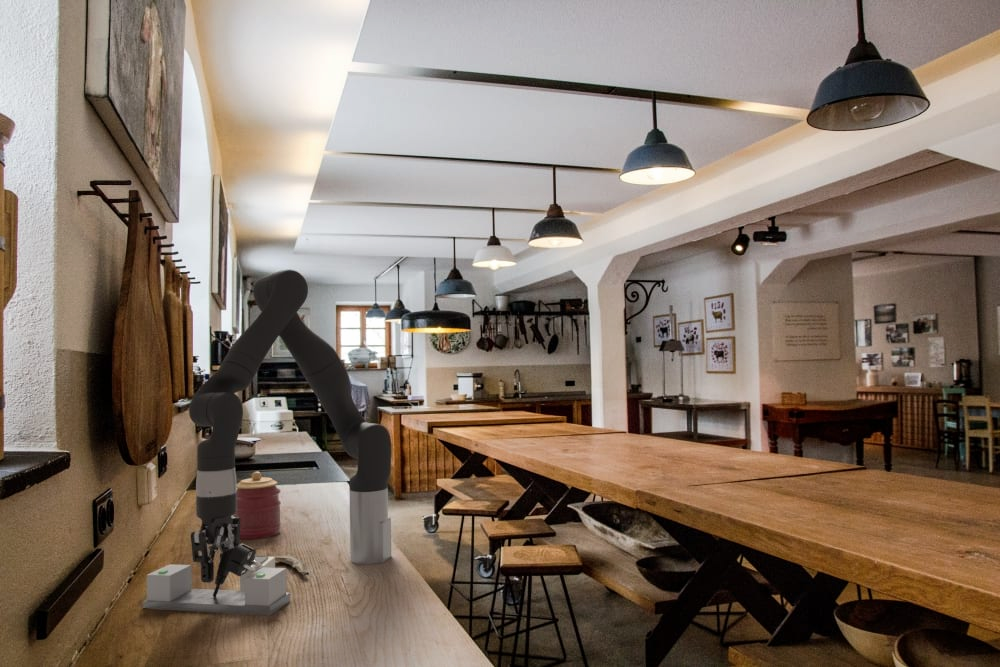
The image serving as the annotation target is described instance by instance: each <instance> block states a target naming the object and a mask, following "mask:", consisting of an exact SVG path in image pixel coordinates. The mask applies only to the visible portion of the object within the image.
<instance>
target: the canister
mask: <svg viewBox="0 0 1000 667" xmlns="http://www.w3.org/2000/svg"><path fill="white" fill-rule="evenodd" d="M277 485H278V481H276V480H274V479H273V478H272V477H268V476H267V477H266V476H265V477H264V476H263V477H262V473H261V472H260V471H254V472H253V473H252V474H251V478H246V479H241V480H240V481H239V482H238V483H237V512H236V513H235V514H234V515H232V517H240V518H241V523H240V537H239V540H257V539H258V540H259V539H266V538H270V537H274V536H276V535H278V534H280V532H281V528H282V523H281V502H282V501H281V500H280V496H279V494H280V493H281V489H280V488H278V487H277ZM233 529H234V528H233Z"/></svg>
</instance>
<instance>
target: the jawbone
mask: <svg viewBox="0 0 1000 667" xmlns="http://www.w3.org/2000/svg"><path fill="white" fill-rule="evenodd" d="M255 557H271V556H268V555H264V554H262V555H255ZM274 557H275V562H281V563H284V564H287V565H290V566H291V567H292V568H294V569H296V570H297V571H298V572H299V573H300V574H301V575H302V576H303V577H304V576H308V575H310V573H309V572H308V570H305V568H306V565H305V562H304V561H302V560H300V559H298V558H296V557H295V556H294V555H291V554H289V555H288V554H287V555H277V556H274Z"/></svg>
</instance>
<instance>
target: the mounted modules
mask: <svg viewBox="0 0 1000 667" xmlns="http://www.w3.org/2000/svg"><path fill="white" fill-rule="evenodd" d="M192 589H193V588H192V565H191V564H171V563H169V564H167V565H165V566H164V567H161V568H158V569H156V570H155V571H152V572H150V573H148V574H146V599H147V600H148V601H171V600H173V599H175V598H177V597H179V596H181V595H183V594H184V593H186V592H188V591H190V590H192ZM286 592H287V568H286V567H275V568H265V567H263V568H261V569H260V570H258V571H256V572H255V573H253V574H251V575H249V576H248V577H246V578H245V605H265V606H269V605H271V604H272V603H274V602H275V601H276V600H278V599H279V598H281V597H282V596H283V595H285V594H286Z"/></svg>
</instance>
